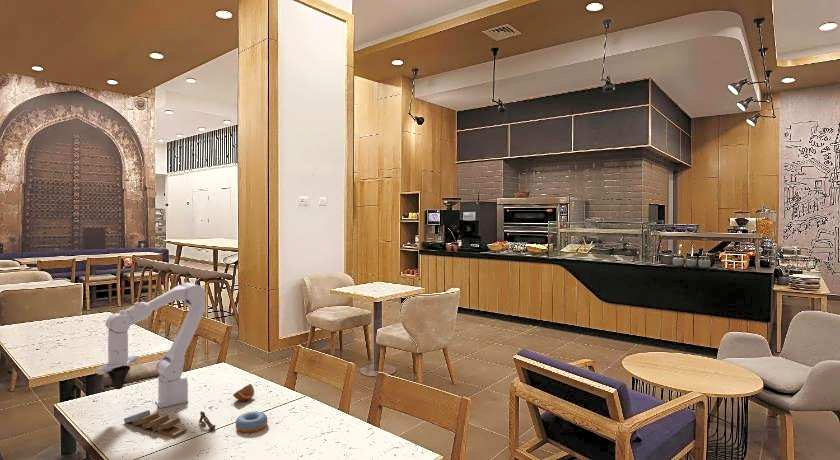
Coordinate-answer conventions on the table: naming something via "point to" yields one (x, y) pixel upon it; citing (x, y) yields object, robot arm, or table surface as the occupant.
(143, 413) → the domino
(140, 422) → the domino
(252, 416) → the doughnut
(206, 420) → the dark angular frame
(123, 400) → the table surface
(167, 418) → the domino
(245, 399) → the fruit slice
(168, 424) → the domino
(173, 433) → the domino
